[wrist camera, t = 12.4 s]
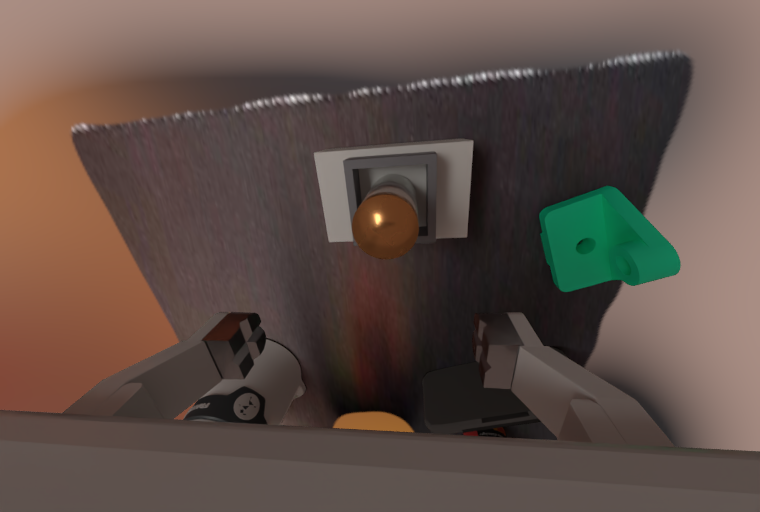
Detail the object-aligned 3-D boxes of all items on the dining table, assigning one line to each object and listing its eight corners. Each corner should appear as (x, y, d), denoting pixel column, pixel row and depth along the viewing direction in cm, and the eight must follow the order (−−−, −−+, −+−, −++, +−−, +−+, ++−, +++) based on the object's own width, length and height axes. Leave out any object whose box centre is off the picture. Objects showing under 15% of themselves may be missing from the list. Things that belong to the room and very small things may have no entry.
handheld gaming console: (426, 382, 49) (429, 439, 40) (421, 372, 48) (423, 428, 39) (561, 355, 43) (600, 414, 34) (558, 343, 42) (598, 401, 33)
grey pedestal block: (462, 138, 31) (480, 142, 23) (458, 220, 35) (472, 248, 27) (329, 148, 33) (303, 155, 25) (340, 225, 37) (321, 252, 29)
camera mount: (533, 208, 34) (580, 238, 25) (601, 183, 32) (679, 206, 23) (551, 283, 38) (596, 333, 29) (611, 266, 36) (681, 314, 27)
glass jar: (405, 226, 30) (403, 268, 21) (363, 209, 30) (343, 245, 21) (423, 184, 28) (430, 211, 19) (379, 166, 28) (364, 184, 19)
